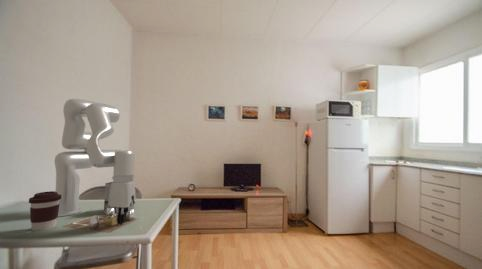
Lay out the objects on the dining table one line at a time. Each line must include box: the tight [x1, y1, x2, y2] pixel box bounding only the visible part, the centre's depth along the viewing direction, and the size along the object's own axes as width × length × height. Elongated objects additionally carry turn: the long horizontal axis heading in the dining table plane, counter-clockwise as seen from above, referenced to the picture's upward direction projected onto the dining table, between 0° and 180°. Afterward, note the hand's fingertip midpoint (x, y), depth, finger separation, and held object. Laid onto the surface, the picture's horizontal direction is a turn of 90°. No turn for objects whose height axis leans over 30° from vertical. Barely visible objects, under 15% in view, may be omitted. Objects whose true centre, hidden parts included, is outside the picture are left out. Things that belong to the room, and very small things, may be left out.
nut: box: [104, 215, 117, 225], centre depth 91 cm, size 4×5×2 cm
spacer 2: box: [106, 207, 116, 217], centre depth 98 cm, size 3×3×4 cm
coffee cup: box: [28, 190, 62, 231], centre depth 87 cm, size 10×10×15 cm
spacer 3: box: [126, 208, 135, 221], centre depth 95 cm, size 3×3×4 cm
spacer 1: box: [89, 214, 100, 229], centre depth 85 cm, size 3×3×4 cm
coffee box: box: [103, 181, 116, 215], centre depth 108 cm, size 9×6×16 cm
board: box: [62, 214, 139, 234], centre depth 91 cm, size 24×16×1 cm, turn 76°
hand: (121, 222), depth 89 cm, fingers closed
